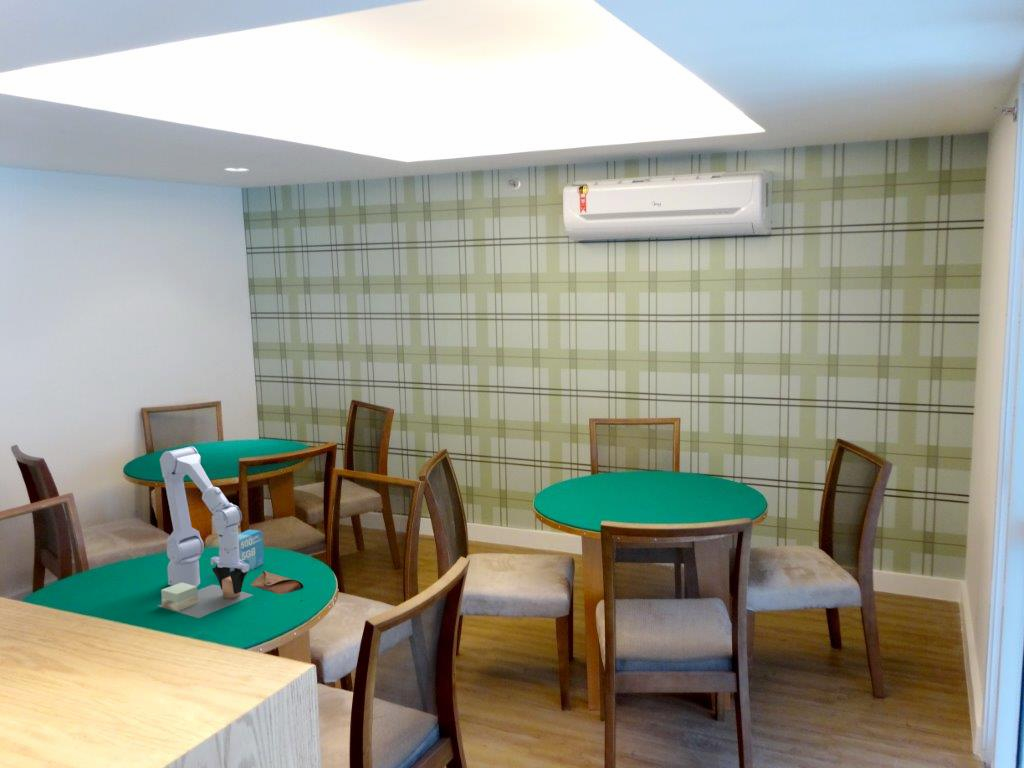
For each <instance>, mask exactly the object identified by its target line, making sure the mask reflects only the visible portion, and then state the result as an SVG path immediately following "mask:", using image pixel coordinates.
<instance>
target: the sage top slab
mask: <svg viewBox="0 0 1024 768" xmlns="http://www.w3.org/2000/svg"><path fill="white" fill-rule="evenodd" d="M160 590H161V591H160V592H161V593H160V594H161V599H162V598H163V599H166V600H170V601H173V602H177V603H178V602H180V601H183V600H185V599H188V598H191V597H193V596H196V595H198V592H197V590H198V586H193V585H190V584H186V583H182V582H181V583H178V584H176V585H173V586H172V585H169V586H168V587H165V588H162V589H160Z"/></svg>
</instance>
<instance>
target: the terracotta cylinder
mask: <svg viewBox="0 0 1024 768" xmlns="http://www.w3.org/2000/svg"><path fill="white" fill-rule="evenodd" d="M222 591H223V598H227V599H230V598H236V597H238V596H240V592H239V593H237V594H235V593H234V591H233V583H232V580H231V577H230V576H229V577H226V578H224V579H222Z"/></svg>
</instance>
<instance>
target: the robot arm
mask: <svg viewBox="0 0 1024 768" xmlns="http://www.w3.org/2000/svg"><path fill="white" fill-rule="evenodd" d="M201 459H202V458H201V455H200V454H199V452H198V450H197V449H196V448H195V447H194V446H193V445H192V446H187V447H183V448H178V449H174V450H166V451H164V452H163V453H162V454H161V456H160V458H159V464H160V469H161V473H162V474H161V475H162V478H163V481H164V485H165V486H164V487H165V490H166V496H167V501H168V506H169V511H170V512H169V513H170V518H171V523H172V529H173V530H172V532H171V533H170V535H169V536H168V537H167V539H166V542H167V544H166V545H167V547H166V556H167V557H168V559H169V560H170V561H169V562H168V565H167V569H166V570H167V581H168V582H167V583H168V586H173V585H176V584H178V583H181V582H182V583H186V584H190V585H193V586H197V587H199V585H200V584H201V577H200V575H201V574H200V561H199V559H200V558H201V556H202V555H201V554H203V553H204V551H205V550H204V549H205V545H204V544H205V543H204V541H203V539H202V537H201V535H200V531H199V530H197V529H195V528H194V527H192V521H191V517H190V512H189V511H190V510H189V505H188V501H187V500H188V499H187V493H186V488H185V483H184V477H185V476H188V477H189V478H190V480H191V481H192V482H193V483H194V484H195V485H196V486H197V487H198V488H197V489H199V490H200V491H201V493H202V494H201V495H202V496H201V500H202V501H203V502H204V505H206V507H207V508H208V510H209V511H210V513H211V515H212V516H213V518H212V523H213V525H214V527H215V532H216V534H217V538H218V539H217V541H218V556H213V557H211V558H210V565H212V566H213V565H215V567H213V568H212V572H213V573H214V574H215V577H216V578H217V581H218V583H219V586H220V587H221V590H222V579H224V578H226V577H231V580H232V583H233V591H234V593H235V594H237V593H239V592H242V588H243V584H244V580H245V577H246V576H247V573H248V572H249V571H250V569H249V564H246V563H245V562H243V561H242V560H240V557H239V538H238V534H239V527H238V526H239V524H240V523H241V522H242V518H243V516H242V515H243V514H242V511H241V509H240V507H239V506H237V505H236V504H233V503H232V502H229V500H228V499H227V497H226V495H225V494H224V493H223V492H222V490H221V489H220V487H218V486H214V485H213V484H212V482H211V480H210V478H209V477H208V475H207V474H206V471H205V469H204V468H203V466H202V465H201V461H202V460H201ZM230 568H232V569H234V571H230Z"/></svg>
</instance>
